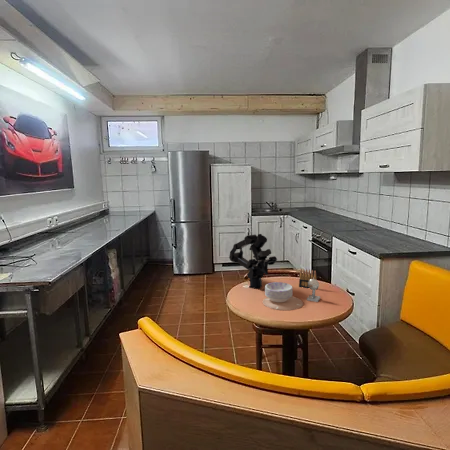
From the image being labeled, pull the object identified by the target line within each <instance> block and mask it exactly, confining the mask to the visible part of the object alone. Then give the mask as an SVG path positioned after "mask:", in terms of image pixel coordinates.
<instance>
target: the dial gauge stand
mask: <svg viewBox="0 0 450 450" xmlns="http://www.w3.org/2000/svg"><path fill="white" fill-rule="evenodd" d="M308 287H309V288H310V289H309V290H312V291H311V292H312V293H311V294H309V295H308V296H307V297H306V301H310V302H314V303H315V302H316V303H318V302H319V301H320V299H321V296H319V295H316V290H318V288H320V283H319V281H318V280H317V278H316V279H314V278H313V279H311V280H309V282H308Z"/></svg>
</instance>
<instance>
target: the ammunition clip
mask: <svg viewBox="0 0 450 450" xmlns="http://www.w3.org/2000/svg"><path fill="white" fill-rule="evenodd" d="M311 279H316V280H317V272H316V270H313V269H311V270H310V269H307V268H306V269H305V268H303V269H302V268H300V270H299V281H298V282H299V283H298V288H302V287H303V289H308V288H309V287H308V282H309V280H311Z"/></svg>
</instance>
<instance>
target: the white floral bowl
mask: <svg viewBox="0 0 450 450" xmlns="http://www.w3.org/2000/svg"><path fill="white" fill-rule="evenodd" d="M293 292H294V291H293V286H292V284H290V283H287V282H282V281H279V282H277V281H276V282H275V281H274V282H269V283H266V284H265V286H264V295H265V297H269V299H270V300H271V301H273V302H278V303H281V302H286V301H287V300H288V299H289V298H290V297H292V296H293V294H294V293H293Z"/></svg>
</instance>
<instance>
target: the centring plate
mask: <svg viewBox="0 0 450 450" xmlns="http://www.w3.org/2000/svg"><path fill="white" fill-rule="evenodd" d="M262 304H263V305H264V306H265V307H267V308H270V309H271V310H276V311H293V310H298V309H301V308H302V307H303V306H304V302H303V300H302V299H301V298H298V297H295V296H293V295H292V297H290V298H289V299H288V300H287V301H286V302H281V303H278V302H273V301H271V300H270V299H269V297H267V296H265V297H264V298H263V300H262Z"/></svg>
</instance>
